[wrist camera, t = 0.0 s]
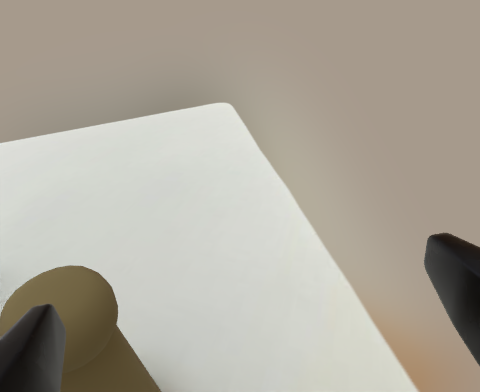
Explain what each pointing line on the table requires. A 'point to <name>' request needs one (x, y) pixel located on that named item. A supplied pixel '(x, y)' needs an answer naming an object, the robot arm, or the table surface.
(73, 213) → the table surface
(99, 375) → the olive game pawn
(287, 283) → the table surface
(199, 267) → the table surface
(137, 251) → the table surface
